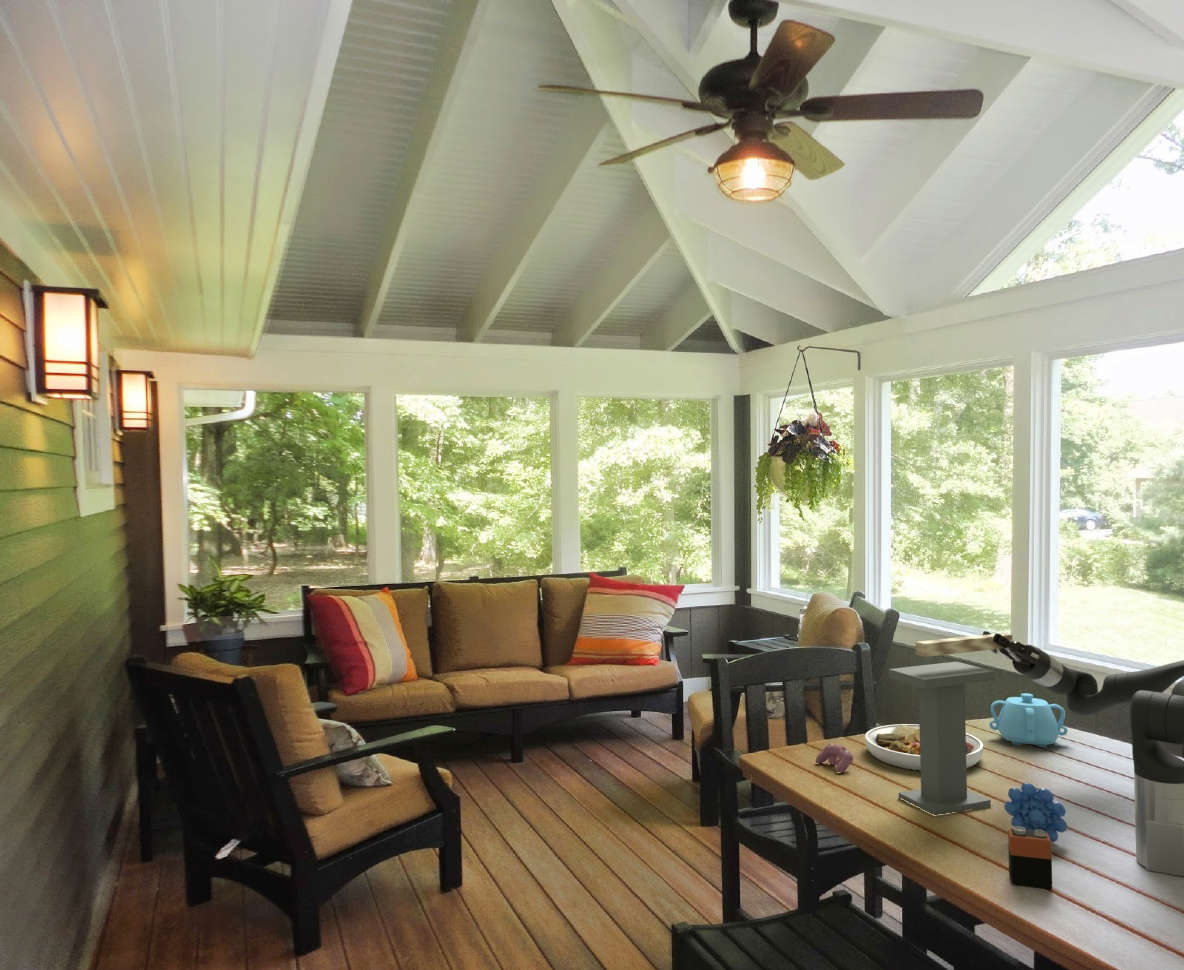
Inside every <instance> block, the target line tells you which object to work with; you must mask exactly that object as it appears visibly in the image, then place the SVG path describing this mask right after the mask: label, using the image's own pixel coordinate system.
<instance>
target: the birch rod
mask: <svg viewBox="0 0 1184 970" xmlns="http://www.w3.org/2000/svg"><path fill="white" fill-rule="evenodd" d="M998 634H1000V635H1002V636H1003V637H1005V638H1007V639H1009V640H1012V641H1013V634H1010V633H1005V632H998ZM994 635H995V633H991V634H987V635H982V634H980V635H979V634H978V635H970V636H969V635H968V636H960V637H959V636H958V637H949V638H939V639H930V640H929V639H928V640H921V641H918V640H917V641H915V656H920V657H924V658H928V657H936V656H945V655H954V654H964V653H972V652H980V651H981V652H982V651H991V650H992V649H1001V648H1003V647H1001V646H1000V645H998V644H997V643H995V642H993V638H994Z"/></svg>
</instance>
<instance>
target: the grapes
mask: <svg viewBox="0 0 1184 970" xmlns="http://www.w3.org/2000/svg"><path fill="white" fill-rule="evenodd" d="M1007 795H1008V797H1009V799H1010V800H1008V801H1005V802H1004V805H1003V807H1004V811H1006V813H1007V814H1008V815H1010V816H1011V817H1012V818H1011V820H1010V821H1011V825H1012V827H1013V828H1014V827H1017V826H1019V827H1023V828H1025V830H1029V831H1035V830H1043V831H1044V832H1046V833H1047V834H1048V836H1049V838H1050V840H1051V843H1055V842H1057V841H1058V839H1059V834H1058V833H1064V832H1067V830H1068V824H1067V822H1066V821H1065V819H1064V818H1063V817H1065V816H1066V812H1067V811H1066V808H1065V806H1064V805H1063V804H1062V803H1061V802H1059V801H1054V800H1055V799H1054V798H1055V797H1054V794H1053V792H1052V791H1051V790H1050V789H1047V788H1044V787H1042V788H1039V789H1038V790H1037V788H1036V786H1035V785H1033V784H1032V783H1031V782H1024V783H1022V784H1021V787H1020V788H1017V787H1011V788H1009V789H1008V792H1007Z"/></svg>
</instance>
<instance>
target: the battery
mask: <svg viewBox="0 0 1184 970" xmlns="http://www.w3.org/2000/svg"><path fill="white" fill-rule="evenodd" d="M1007 839H1008V840H1007V841H1008V844H1007V845H1008V875H1009V878H1010V882H1011V884H1012V885H1014V886H1018V887H1019V886H1020V887H1029V888H1036V889H1043V890H1044V889H1045V890H1052V889H1053V860H1052V858H1053V857H1052V856H1053V855H1052V853H1053V852H1052V842H1051V840H1050V838H1049V836H1048V834H1047V833H1046V832H1044V831H1043V830H1035V831H1029V830H1025V828H1023V827H1019V826H1017V827H1014V826H1013V828H1009V829H1008V830H1007Z"/></svg>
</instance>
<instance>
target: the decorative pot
mask: <svg viewBox="0 0 1184 970" xmlns="http://www.w3.org/2000/svg"><path fill="white" fill-rule="evenodd" d="M997 705H1002V707H1001V710H1000V713H999V715H998V716H997V714H996V710H995V709H996V708H995V706H997ZM1052 709H1057V710H1059V711H1060V718H1059V720H1057V718H1056V715H1055V714H1054V712H1053V710H1052ZM990 713H991V716H992V718H993V720H990V721H989V728H990V729H991V730H993V731H999V733H1000V734H1001V736H1002V737H1003V739H1004V740H1006V741H1008V742H1011V744H1012V745H1015V746H1021V745H1022V744H1025V745H1026V744H1027V745H1036V747H1040V748H1047V747H1048V746H1047V745H1052V744H1054V743H1055V742H1056V741H1057V739H1058V738H1059V736H1066V735H1067V734H1068V728H1067V727H1066V726H1064V725H1063V723H1064V721H1065V718H1066V710H1065V708H1063V707H1062V705H1061V706H1060V705H1059V704H1057V703H1052V704H1049V702H1047V701H1046V700H1045V699H1043V698H1035V697H1034V694H1032V693H1027V692H1026V693H1025V692H1024V693H1020V696H1011V697H1008V698H1006V700H1001V699H1000V700H996V701H993V702H992V704H991V705H990ZM993 724H995V726H994V725H993ZM1061 729H1062V730H1063V731H1061Z"/></svg>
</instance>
